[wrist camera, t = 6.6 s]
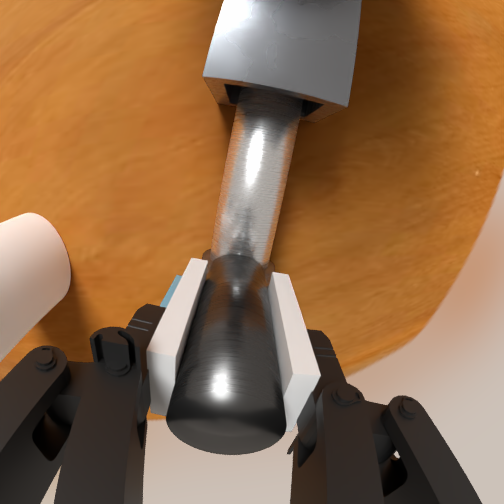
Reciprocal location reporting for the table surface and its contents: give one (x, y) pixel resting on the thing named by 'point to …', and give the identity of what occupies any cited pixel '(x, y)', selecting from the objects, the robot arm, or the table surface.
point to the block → (286, 52)
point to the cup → (29, 275)
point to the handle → (239, 293)
